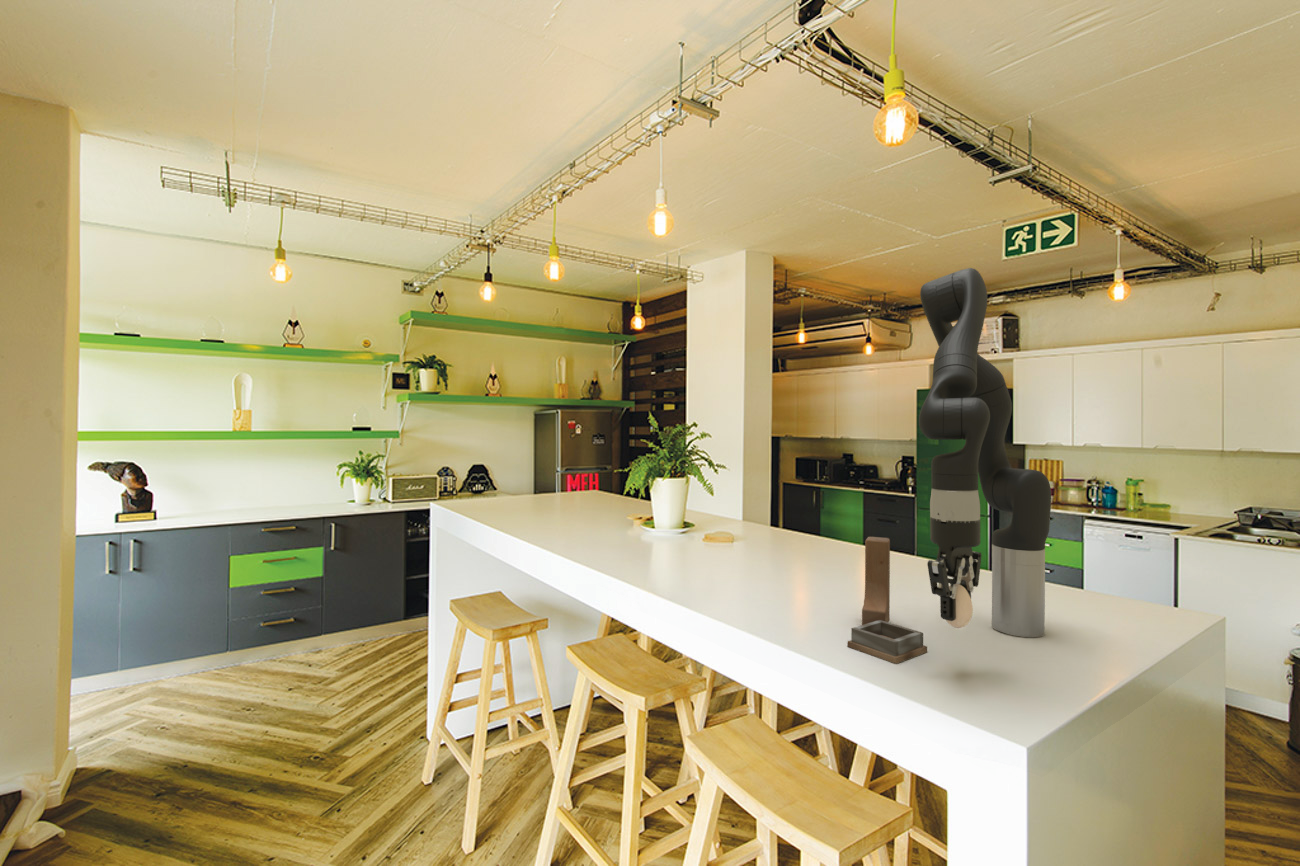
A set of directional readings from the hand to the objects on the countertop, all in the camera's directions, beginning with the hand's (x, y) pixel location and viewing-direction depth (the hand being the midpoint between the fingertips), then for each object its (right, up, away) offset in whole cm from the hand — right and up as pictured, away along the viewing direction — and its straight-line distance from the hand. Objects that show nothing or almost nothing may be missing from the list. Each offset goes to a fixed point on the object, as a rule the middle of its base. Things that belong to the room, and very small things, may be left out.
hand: (955, 615), depth 99 cm
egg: (0, -2, 0) cm, 2 cm away
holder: (-8, -9, +10) cm, 16 cm away
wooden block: (-5, -10, +23) cm, 26 cm away
